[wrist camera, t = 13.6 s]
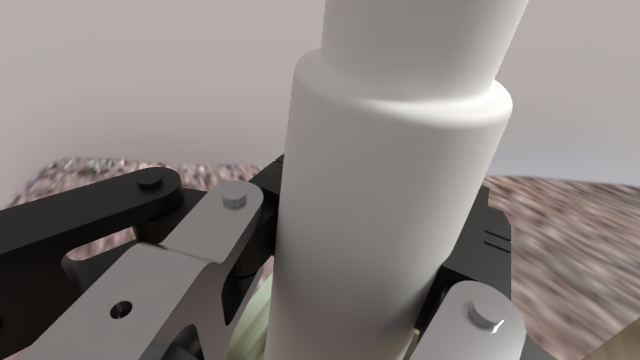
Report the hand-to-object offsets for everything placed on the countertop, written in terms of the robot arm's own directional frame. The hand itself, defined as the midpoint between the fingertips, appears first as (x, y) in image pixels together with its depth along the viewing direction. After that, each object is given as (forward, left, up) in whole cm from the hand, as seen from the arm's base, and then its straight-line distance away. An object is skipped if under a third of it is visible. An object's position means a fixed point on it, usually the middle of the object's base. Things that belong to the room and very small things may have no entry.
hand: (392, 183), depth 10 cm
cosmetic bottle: (+2, +2, -12) cm, 13 cm away
